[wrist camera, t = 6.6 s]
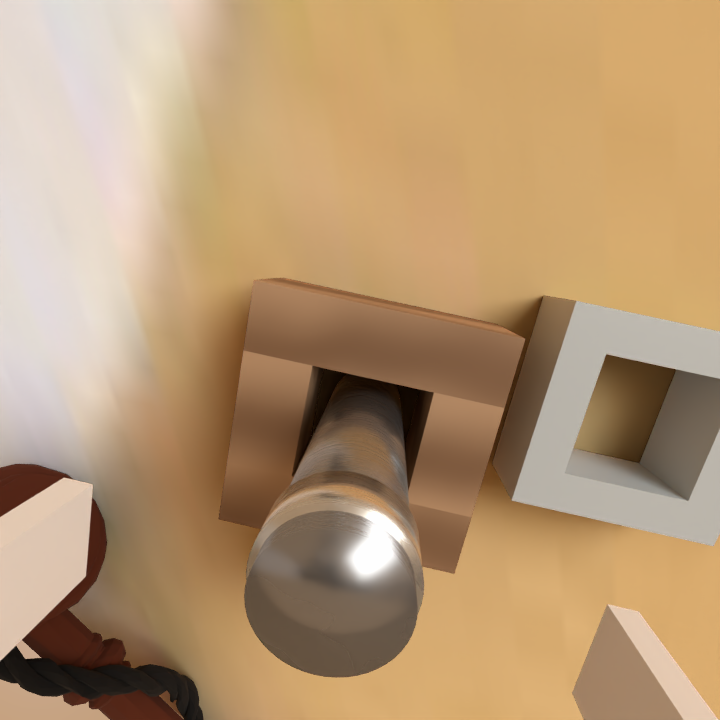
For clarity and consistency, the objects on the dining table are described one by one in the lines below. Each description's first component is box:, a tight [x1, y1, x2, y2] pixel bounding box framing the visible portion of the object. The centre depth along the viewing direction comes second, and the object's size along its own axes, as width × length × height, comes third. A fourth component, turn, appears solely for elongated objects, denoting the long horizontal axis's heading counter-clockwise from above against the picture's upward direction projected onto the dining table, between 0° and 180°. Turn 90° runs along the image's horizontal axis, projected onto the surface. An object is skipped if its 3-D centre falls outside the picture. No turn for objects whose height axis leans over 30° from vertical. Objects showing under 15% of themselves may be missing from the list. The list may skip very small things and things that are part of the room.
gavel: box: [0, 464, 203, 720], centre depth 25 cm, size 10×34×10 cm
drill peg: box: [244, 374, 424, 677], centre depth 17 cm, size 4×4×15 cm
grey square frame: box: [492, 296, 720, 546], centre depth 21 cm, size 10×10×4 cm
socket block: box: [219, 278, 525, 574], centre depth 22 cm, size 16×12×5 cm
